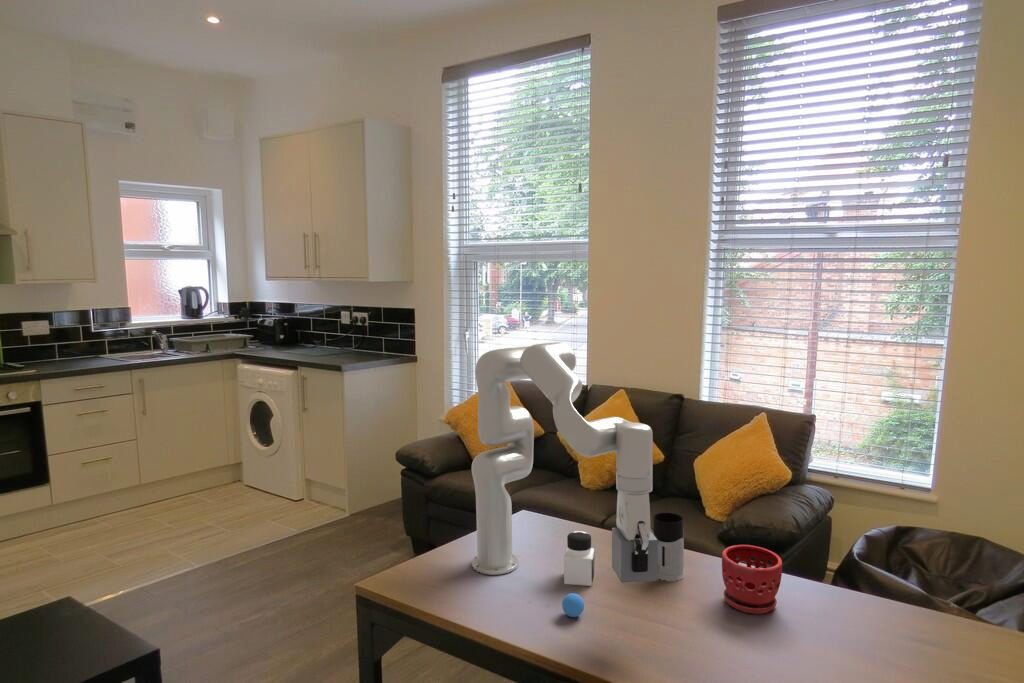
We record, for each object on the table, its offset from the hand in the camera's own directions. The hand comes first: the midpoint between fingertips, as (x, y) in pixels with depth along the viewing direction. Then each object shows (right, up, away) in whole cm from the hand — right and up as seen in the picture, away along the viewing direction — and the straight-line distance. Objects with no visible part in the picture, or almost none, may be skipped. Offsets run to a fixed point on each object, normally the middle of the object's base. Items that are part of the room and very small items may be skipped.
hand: (634, 562), depth 136 cm
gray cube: (0, -3, 0) cm, 3 cm away
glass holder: (+12, -14, +28) cm, 34 cm away
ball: (-12, -13, +9) cm, 20 cm away
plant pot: (+30, -15, +13) cm, 35 cm away
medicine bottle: (-9, -14, +27) cm, 32 cm away
